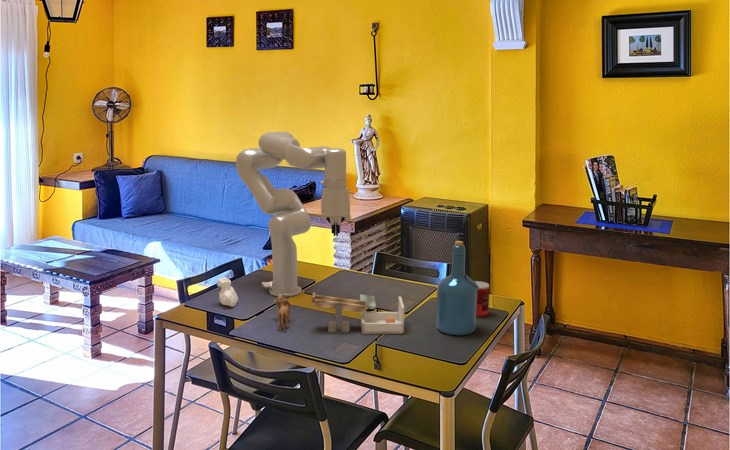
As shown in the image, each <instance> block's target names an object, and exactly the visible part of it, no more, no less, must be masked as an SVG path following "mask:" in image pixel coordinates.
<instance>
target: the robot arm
mask: <svg viewBox="0 0 730 450" xmlns="http://www.w3.org/2000/svg"><path fill="white" fill-rule="evenodd" d="M257 143H258V147H252V148H247V149H243V150H242V151H240V152H239V153H238V154H237V155H236V159H235V167H236V172H237V174H238V176H239V178H240V179H241V181H242V182H243V183H244V184H245V185H246V187H247V188H248V190H249V191H250V193H251V194H252V196H253V198H254V200H255V201H256V203H257V204H258V206H259V208H260V209H261V211H262V212H263V214H265V215H267V216H268V215H269V216H272V215H273V216H272V217H271V218H270V219H269V221H268V232H269V236H270V241H271V254H272V255H271V257H272V258H271V260H272V280H270V281H262V282H261V287H263V288H264V289H268V290H269V291H268V292H269V294H270V295H271V296H274V297H278V295H279V294H284V295H285V296H286V297H287V298H288V297H295V296H298V295H300V294H301V293H302V291H303V290H302V287H300V286H299V285H298V252H297V251H298V250H297V248H298V247H297V245H296V242H295V241H294V239H293V237H294V236H299V235H303V234H305V233H307V232H309V231H310V229H311V227H312V220H311V217H310V215H309V213H308V211H307V209H306V208H305V206H304V205H303V202H302V201H301V199H300V198H299V196H298V195H297V193H296V192H295V191H294V190H292V189H291V188H286V187H285V188H279V189H278V188H275V186H274V185H273V184H272V183H271V181H270V179H269V178H268V177H267V176H265V174H263V173H262V172H261V171H259V170H266V169H274V168H276V167H277V166H279V164H281V163H282V162H283V161H284V160H285V162H287V164H288V165H290V166H291V167H295V168H298V169H301V170H307V171H308V170H315V169H324V180H320V185H322V186H324V187H322V189H321V190H322V191H321V196H320V197H321V198H320V199H321V200H320V212H321V213H320V220H324V221H327V222H328V223H329V224H330V225H331V234H333V237H335V236H336V237H338V236H339V234H341V224H343V222H344V221H346V220H347V221H348V220H351V218H352V216H351V199H350V196H351V195H350V191H349V187H347V151H346V150H345V149H344V148H337V147H335V148H332V147H329V146H313V147H302V146H301V144H300V142H299V140H298V139H297V138H295V137H294V136H293V134H291V133H290V132H287V131H270V132H269V131H268V132H265V133H263V134H262V135H261V136H260V137H259V138H258V142H257ZM335 218H337V221H336V222H335V220H334V219H335Z"/></svg>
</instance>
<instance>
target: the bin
mask: <svg viewBox="0 0 730 450" xmlns="http://www.w3.org/2000/svg"><path fill="white" fill-rule="evenodd" d="M397 304H398V308H397V309H398V311H366V313H363V312H360V326H361V334H362V335H393V334H394V335H396V334H397V335H400V334H401V335H403V334H405V306H404V302H403V298H402V296H398V303H397ZM388 316H393V317H394V318H395V323H386V318H387V317H388Z"/></svg>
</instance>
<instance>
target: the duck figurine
mask: <svg viewBox="0 0 730 450" xmlns="http://www.w3.org/2000/svg"><path fill="white" fill-rule="evenodd" d="M231 283H232V281H231V280H230V279H229V278H227V277H225V276H223V277H220V278H218V280H217V282H216V286H217V287H220V288H221V290H220V291H219V292H218V295H219V299H218V300H219V302H220V303H221V305H223V306H229V307H234V306H237V304H238V302H239V297H238V294H237V292H236V291H235V288H234V287H233V286H231Z"/></svg>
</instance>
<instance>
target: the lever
mask: <svg viewBox="0 0 730 450" xmlns="http://www.w3.org/2000/svg"><path fill="white" fill-rule="evenodd" d="M310 304H311V305H310V306H311V307H315V308H316V307H317V308H325V309H334V310H336V304H342V311H347V312H355V313H357V312H358V313H361V312H363V313H366V312H367V309H373V310H376V309H377V307H376V306H377V305H376V300H375V296H374V295H369V294H362V293H359V300H358V299H350V298H342V297H335V296H327V295H320V294H316V292H315V291H314V292H313V291H312V298H311V303H310Z"/></svg>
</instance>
